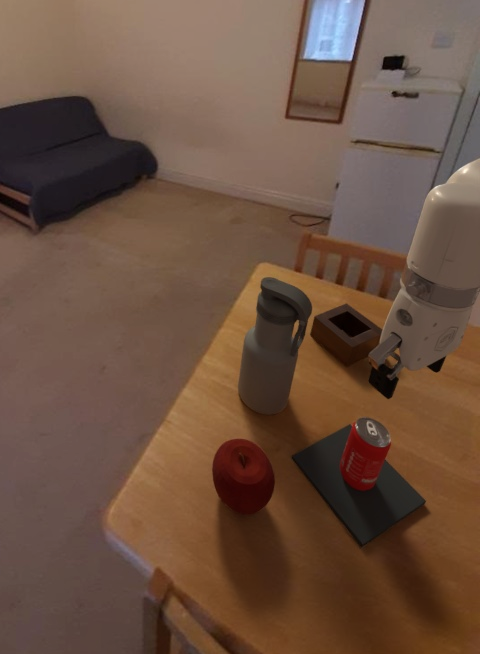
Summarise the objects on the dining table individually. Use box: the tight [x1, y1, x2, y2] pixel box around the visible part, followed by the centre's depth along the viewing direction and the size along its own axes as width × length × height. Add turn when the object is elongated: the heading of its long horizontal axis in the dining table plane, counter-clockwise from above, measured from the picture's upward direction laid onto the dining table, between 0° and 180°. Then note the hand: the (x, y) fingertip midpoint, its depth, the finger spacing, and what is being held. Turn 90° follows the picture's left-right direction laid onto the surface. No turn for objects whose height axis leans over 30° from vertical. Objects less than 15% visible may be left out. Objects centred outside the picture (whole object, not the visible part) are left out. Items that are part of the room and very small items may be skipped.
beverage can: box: [340, 416, 392, 491], centre depth 65 cm, size 5×5×12 cm
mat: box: [291, 423, 427, 549], centre depth 68 cm, size 14×14×1 cm
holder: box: [309, 302, 383, 368], centre depth 92 cm, size 10×10×6 cm
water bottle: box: [237, 276, 313, 416], centre depth 76 cm, size 10×10×28 cm
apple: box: [211, 438, 276, 516], centre depth 64 cm, size 10×10×10 cm
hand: (403, 377), depth 57 cm, fingers open, 9 cm apart
